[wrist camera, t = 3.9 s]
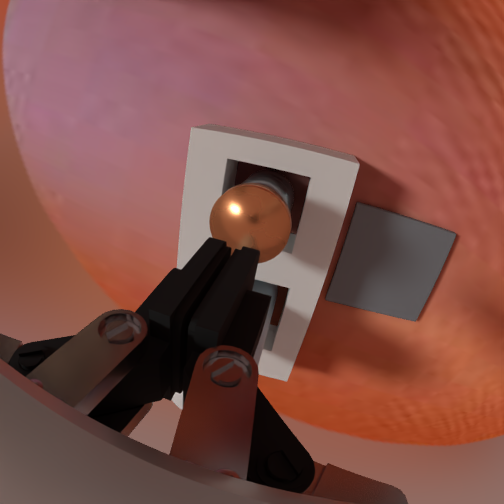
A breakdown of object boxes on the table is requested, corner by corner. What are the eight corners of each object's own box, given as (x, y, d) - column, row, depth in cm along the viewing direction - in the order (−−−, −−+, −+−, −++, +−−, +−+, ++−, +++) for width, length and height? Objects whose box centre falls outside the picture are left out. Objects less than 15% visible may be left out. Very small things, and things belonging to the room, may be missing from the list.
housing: (354, 155, 20) (359, 164, 17) (291, 355, 28) (286, 381, 25) (209, 123, 21) (191, 127, 18) (186, 326, 29) (173, 348, 26)
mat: (454, 232, 20) (456, 234, 20) (414, 318, 24) (415, 321, 24) (356, 201, 21) (357, 203, 21) (325, 297, 25) (325, 300, 24)
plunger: (305, 172, 21) (298, 198, 15) (291, 230, 22) (280, 272, 17) (243, 158, 21) (215, 178, 16) (233, 216, 23) (205, 252, 18)
